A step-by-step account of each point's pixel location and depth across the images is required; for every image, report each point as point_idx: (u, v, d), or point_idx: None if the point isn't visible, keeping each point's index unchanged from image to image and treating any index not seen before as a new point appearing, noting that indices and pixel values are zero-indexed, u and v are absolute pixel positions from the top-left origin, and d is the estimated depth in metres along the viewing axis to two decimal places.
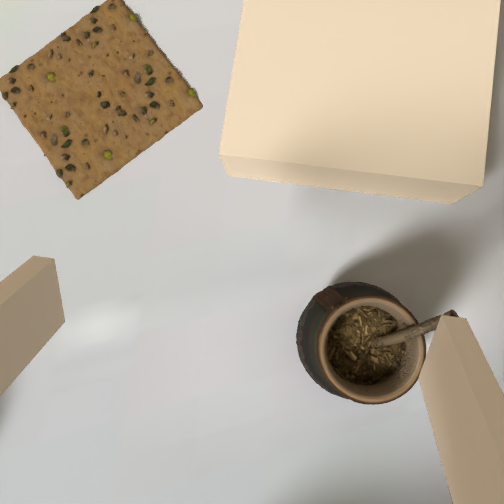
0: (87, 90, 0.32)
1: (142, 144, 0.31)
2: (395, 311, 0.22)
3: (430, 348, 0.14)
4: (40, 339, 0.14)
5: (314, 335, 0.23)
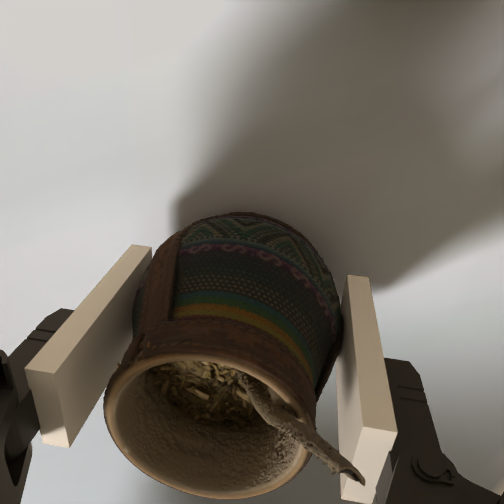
0: None
1: None
2: None
3: (341, 306, 0.16)
4: None
5: None
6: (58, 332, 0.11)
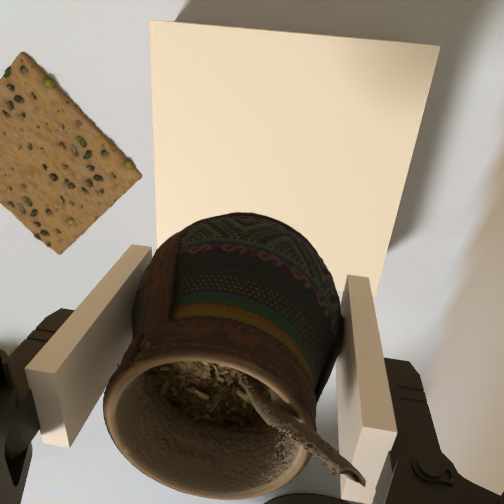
0: (32, 163, 0.34)
1: (97, 212, 0.35)
2: None
3: (341, 306, 0.16)
4: None
5: None
6: (58, 332, 0.11)
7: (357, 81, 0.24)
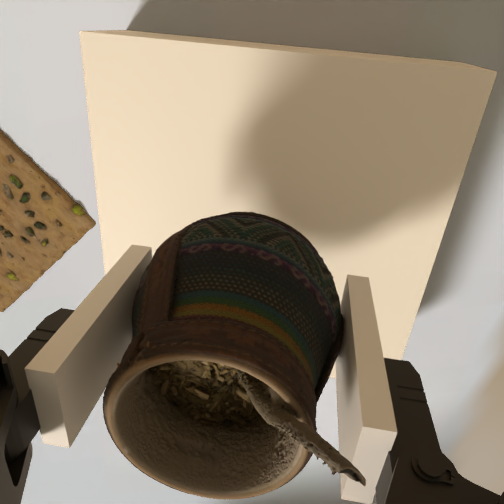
0: None
1: (42, 265, 0.28)
2: None
3: (341, 306, 0.16)
4: None
5: None
6: (58, 332, 0.11)
7: (375, 119, 0.17)
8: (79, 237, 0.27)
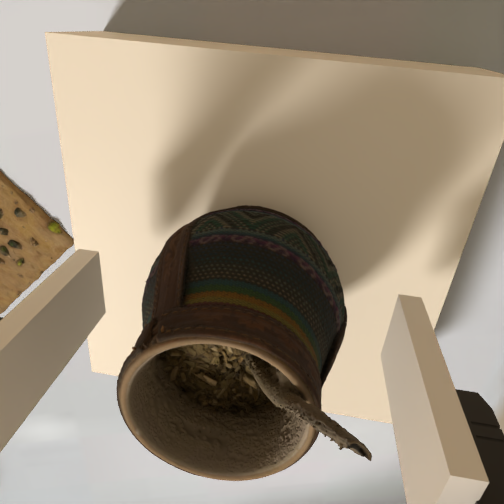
0: None
1: (19, 286, 0.26)
2: None
3: (390, 327, 0.15)
4: (85, 328, 0.15)
5: None
6: None
7: (383, 133, 0.15)
8: (57, 256, 0.25)
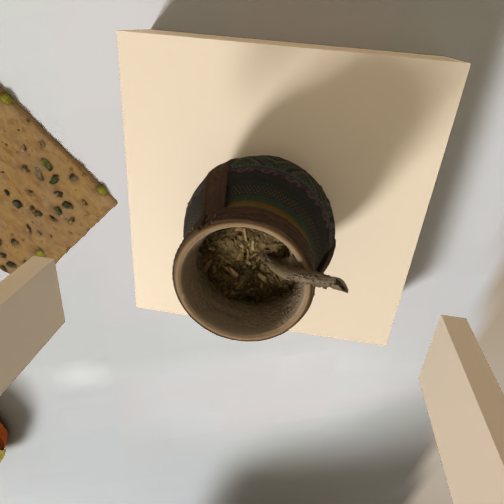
0: None
1: (68, 242, 0.31)
2: None
3: (430, 348, 0.14)
4: (40, 339, 0.14)
5: None
6: None
7: (368, 104, 0.20)
8: (102, 215, 0.30)
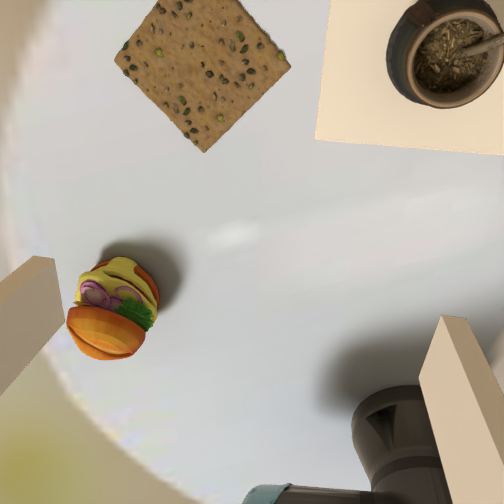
0: (191, 61, 0.38)
1: (245, 106, 0.40)
2: (483, 22, 0.24)
3: (430, 348, 0.14)
4: (40, 339, 0.14)
5: (403, 52, 0.27)
6: None
7: None
8: (277, 79, 0.38)
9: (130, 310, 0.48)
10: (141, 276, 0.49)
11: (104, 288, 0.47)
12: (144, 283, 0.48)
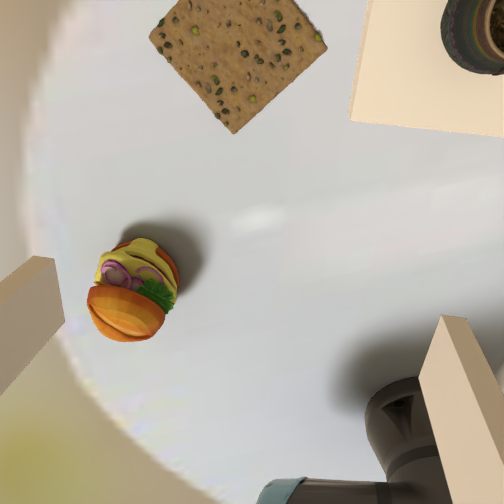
0: (227, 40, 0.38)
1: (278, 87, 0.39)
2: None
3: (430, 348, 0.14)
4: (40, 339, 0.14)
5: (471, 16, 0.26)
6: None
7: None
8: (312, 61, 0.38)
9: (151, 291, 0.47)
10: (162, 258, 0.48)
11: (126, 268, 0.47)
12: (166, 265, 0.48)
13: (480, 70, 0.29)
